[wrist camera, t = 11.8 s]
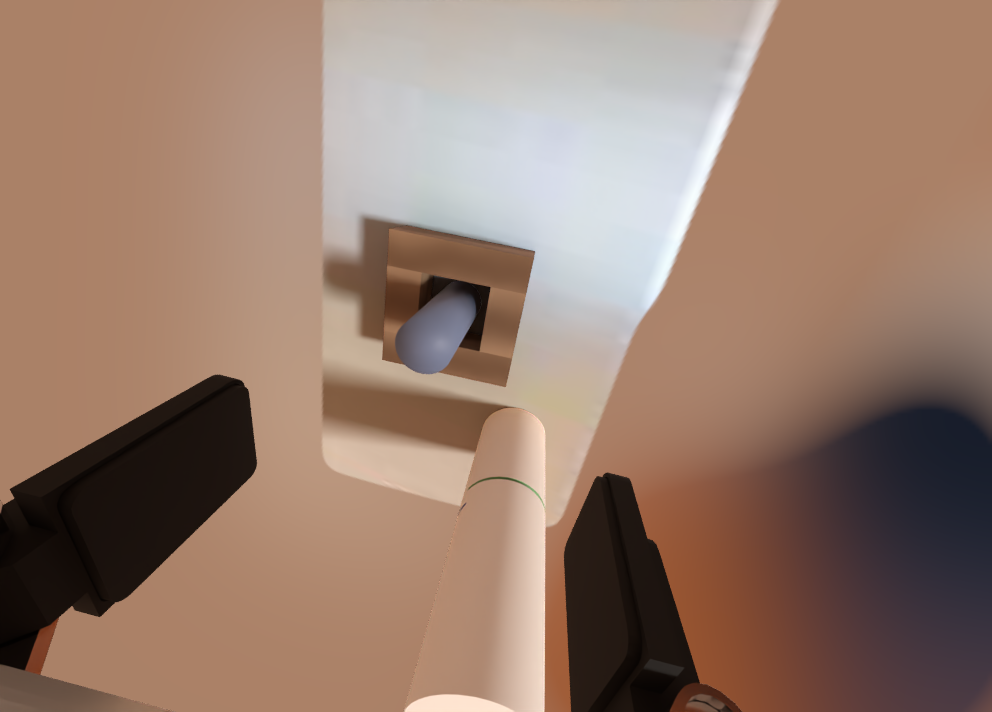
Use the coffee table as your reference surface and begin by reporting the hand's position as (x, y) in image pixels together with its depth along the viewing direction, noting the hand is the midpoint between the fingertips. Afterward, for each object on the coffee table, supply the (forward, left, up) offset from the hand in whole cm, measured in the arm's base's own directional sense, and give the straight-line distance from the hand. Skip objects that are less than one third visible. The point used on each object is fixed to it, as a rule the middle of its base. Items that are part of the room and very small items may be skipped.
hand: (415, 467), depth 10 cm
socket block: (+3, -4, -26) cm, 27 cm away
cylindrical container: (+17, +4, -27) cm, 32 cm away
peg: (+3, -4, -26) cm, 27 cm away
